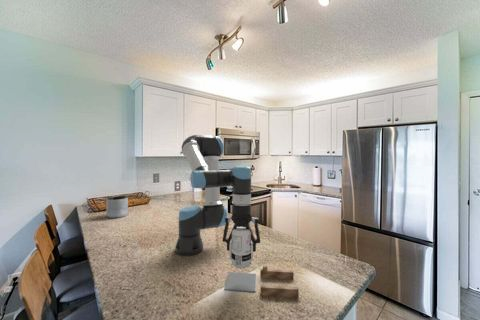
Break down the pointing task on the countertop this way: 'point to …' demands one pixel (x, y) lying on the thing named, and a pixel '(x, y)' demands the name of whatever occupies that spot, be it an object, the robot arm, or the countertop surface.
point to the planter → (116, 206)
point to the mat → (240, 282)
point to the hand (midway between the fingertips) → (241, 258)
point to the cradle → (278, 290)
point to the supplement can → (241, 247)
